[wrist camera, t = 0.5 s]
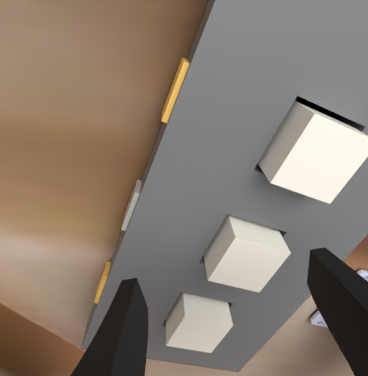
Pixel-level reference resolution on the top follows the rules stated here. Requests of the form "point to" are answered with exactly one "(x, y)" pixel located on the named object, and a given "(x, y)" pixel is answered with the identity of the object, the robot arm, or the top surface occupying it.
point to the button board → (241, 167)
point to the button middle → (244, 254)
